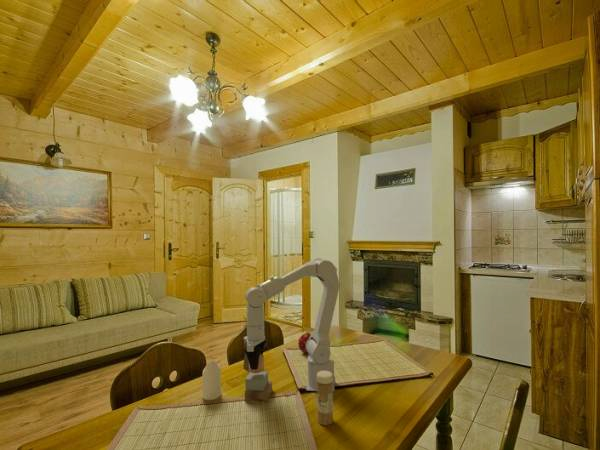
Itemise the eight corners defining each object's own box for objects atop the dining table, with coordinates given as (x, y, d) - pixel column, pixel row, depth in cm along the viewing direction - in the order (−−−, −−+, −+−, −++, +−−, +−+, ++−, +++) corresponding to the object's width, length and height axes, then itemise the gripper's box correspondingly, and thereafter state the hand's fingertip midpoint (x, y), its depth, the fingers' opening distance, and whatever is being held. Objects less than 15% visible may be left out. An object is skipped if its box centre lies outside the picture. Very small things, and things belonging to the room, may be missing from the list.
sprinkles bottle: (314, 421, 89) (313, 374, 89) (323, 414, 92) (322, 368, 92) (327, 428, 86) (326, 378, 86) (336, 420, 89) (335, 372, 90)
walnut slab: (272, 391, 107) (272, 380, 107) (267, 403, 100) (267, 392, 100) (250, 390, 108) (250, 380, 108) (244, 402, 100) (244, 391, 101)
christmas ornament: (318, 357, 134) (317, 333, 135) (298, 357, 134) (297, 333, 135) (317, 349, 143) (317, 327, 143) (298, 349, 143) (298, 327, 143)
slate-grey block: (268, 381, 106) (267, 371, 107) (263, 390, 101) (263, 379, 101) (250, 381, 107) (250, 370, 107) (245, 390, 101) (245, 379, 101)
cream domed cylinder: (218, 355, 108) (222, 360, 103) (219, 390, 108) (223, 397, 103) (200, 358, 105) (203, 364, 100) (201, 394, 105) (204, 402, 100)
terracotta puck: (265, 366, 106) (265, 353, 106) (261, 373, 101) (261, 359, 101) (251, 366, 106) (251, 352, 106) (246, 372, 101) (246, 358, 102)
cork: (255, 370, 123) (254, 342, 123) (240, 369, 124) (240, 341, 124) (260, 363, 129) (259, 337, 129) (246, 363, 130) (246, 336, 130)
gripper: (249, 317, 112) (250, 356, 111) (237, 330, 97) (237, 375, 97) (269, 318, 111) (269, 356, 110) (259, 331, 96) (260, 375, 96)
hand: (256, 365), depth 104 cm, fingers closed on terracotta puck, 5 cm apart
